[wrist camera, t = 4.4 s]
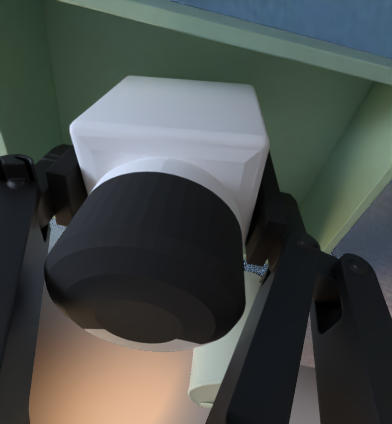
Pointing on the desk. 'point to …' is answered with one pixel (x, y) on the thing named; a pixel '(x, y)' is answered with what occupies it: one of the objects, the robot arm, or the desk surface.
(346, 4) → the desk surface
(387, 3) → the desk surface
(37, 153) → the bin
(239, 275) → the medicine bottle
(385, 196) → the desk surface
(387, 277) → the desk surface
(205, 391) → the can
